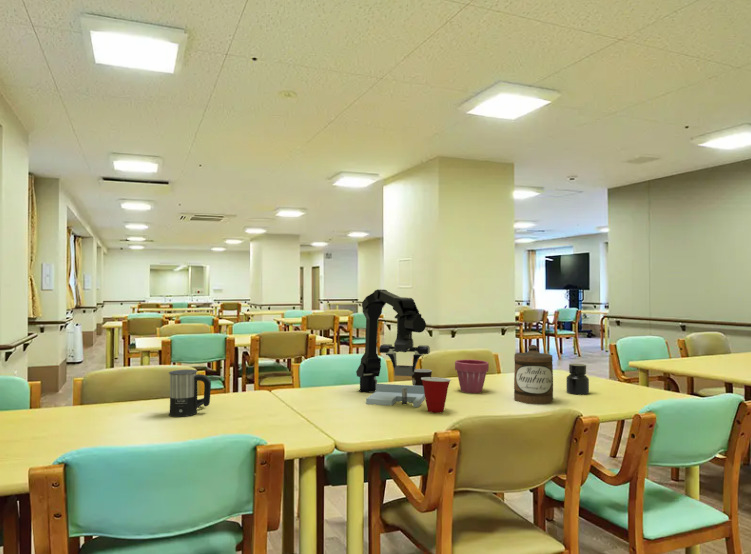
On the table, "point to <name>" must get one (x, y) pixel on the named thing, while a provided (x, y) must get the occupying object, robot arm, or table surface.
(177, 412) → the milk frother
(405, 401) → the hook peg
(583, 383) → the ink bottle
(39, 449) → the table surface
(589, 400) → the table surface
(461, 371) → the plant pot
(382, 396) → the grey walled base plate
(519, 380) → the wooden container
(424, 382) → the plastic cup
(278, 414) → the table surface
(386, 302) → the robot arm
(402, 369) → the square hollow frame
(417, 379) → the coffee mug
